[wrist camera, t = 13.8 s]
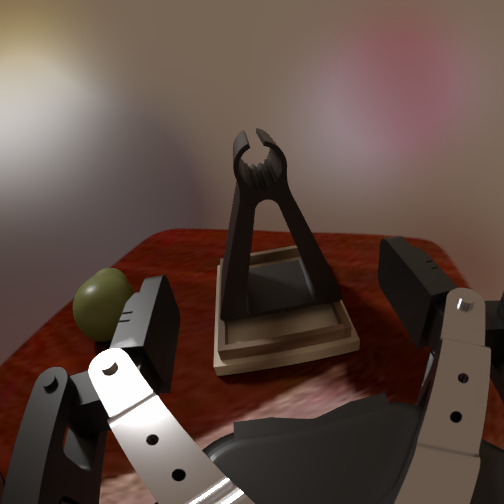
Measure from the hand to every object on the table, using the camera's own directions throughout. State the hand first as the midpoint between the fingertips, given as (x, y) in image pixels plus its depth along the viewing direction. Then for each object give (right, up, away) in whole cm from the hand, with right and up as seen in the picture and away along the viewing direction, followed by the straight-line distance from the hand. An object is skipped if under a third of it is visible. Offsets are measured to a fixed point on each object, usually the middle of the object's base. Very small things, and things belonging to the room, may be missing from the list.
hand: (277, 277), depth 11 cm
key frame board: (+1, -4, +15) cm, 15 cm away
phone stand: (+1, -2, +14) cm, 14 cm away
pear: (-14, -6, +17) cm, 23 cm away
